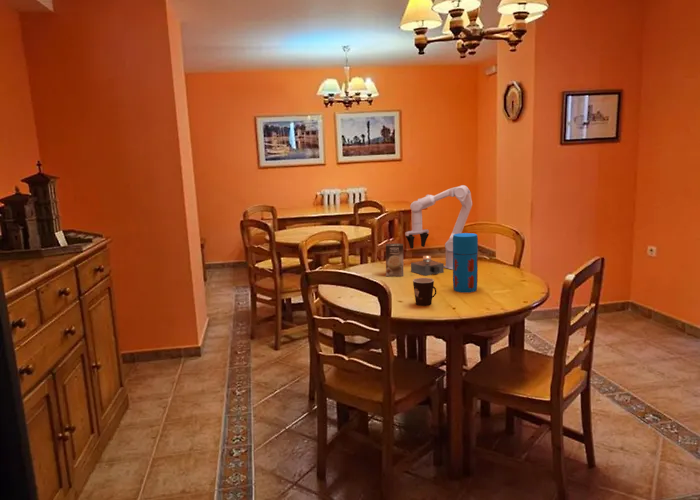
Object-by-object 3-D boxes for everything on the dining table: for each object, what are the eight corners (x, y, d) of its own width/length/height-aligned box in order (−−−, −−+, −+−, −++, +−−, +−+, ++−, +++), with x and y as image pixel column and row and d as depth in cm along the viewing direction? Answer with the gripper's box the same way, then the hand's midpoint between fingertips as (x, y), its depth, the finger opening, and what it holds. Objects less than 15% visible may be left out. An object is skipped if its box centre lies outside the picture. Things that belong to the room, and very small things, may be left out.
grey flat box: (429, 268, 277) (429, 259, 277) (446, 273, 265) (446, 264, 265) (411, 271, 272) (410, 262, 271) (427, 276, 260) (427, 267, 259)
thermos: (478, 287, 236) (478, 233, 232) (476, 293, 226) (476, 237, 222) (454, 286, 240) (454, 232, 235) (451, 292, 230) (451, 236, 225)
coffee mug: (411, 301, 218) (410, 278, 216) (431, 300, 218) (431, 277, 216) (417, 309, 206) (416, 285, 204) (438, 308, 207) (438, 284, 205)
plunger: (427, 269, 272) (427, 255, 271) (432, 270, 268) (432, 256, 267) (421, 270, 270) (421, 256, 269) (426, 271, 267) (426, 257, 265)
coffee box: (385, 276, 263) (384, 245, 260) (386, 273, 269) (385, 243, 266) (403, 276, 262) (403, 245, 259) (403, 273, 268) (403, 243, 265)
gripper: (423, 220, 287) (423, 244, 290) (401, 223, 280) (402, 248, 283) (431, 222, 281) (431, 246, 284) (409, 224, 274) (409, 249, 277)
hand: (417, 247), depth 283 cm, fingers open, 7 cm apart
